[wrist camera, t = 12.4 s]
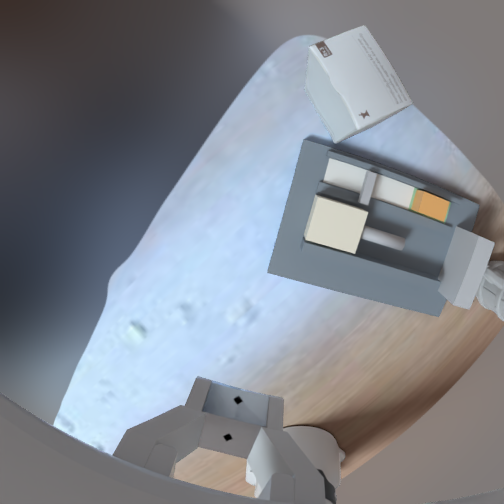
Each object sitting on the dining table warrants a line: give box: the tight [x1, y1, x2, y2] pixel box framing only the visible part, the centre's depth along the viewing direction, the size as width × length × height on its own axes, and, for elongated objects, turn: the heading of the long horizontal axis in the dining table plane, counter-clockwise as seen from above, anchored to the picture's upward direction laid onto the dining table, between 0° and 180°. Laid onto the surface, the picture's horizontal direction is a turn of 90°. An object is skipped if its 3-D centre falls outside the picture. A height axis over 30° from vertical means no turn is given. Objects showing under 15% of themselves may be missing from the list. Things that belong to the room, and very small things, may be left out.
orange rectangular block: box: [411, 190, 450, 222], centre depth 35 cm, size 3×4×2 cm, turn 76°
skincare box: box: [304, 25, 413, 144], centre depth 28 cm, size 8×6×15 cm
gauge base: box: [267, 140, 495, 317], centre depth 35 cm, size 17×26×7 cm, turn 76°
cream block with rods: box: [304, 171, 405, 254], centre depth 35 cm, size 10×12×3 cm
